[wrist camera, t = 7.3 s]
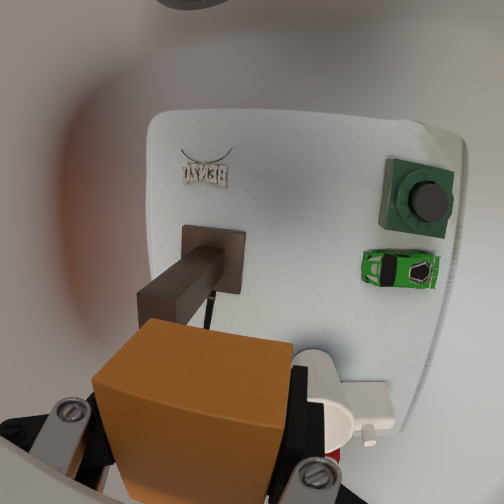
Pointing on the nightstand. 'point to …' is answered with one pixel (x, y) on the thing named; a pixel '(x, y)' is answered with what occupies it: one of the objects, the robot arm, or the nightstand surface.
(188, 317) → the stand
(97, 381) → the orange block
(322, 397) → the cup
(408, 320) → the nightstand surface
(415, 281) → the toy car
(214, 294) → the fountain pen
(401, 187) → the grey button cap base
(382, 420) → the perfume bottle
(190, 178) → the necklace
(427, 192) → the dark grey button cap
